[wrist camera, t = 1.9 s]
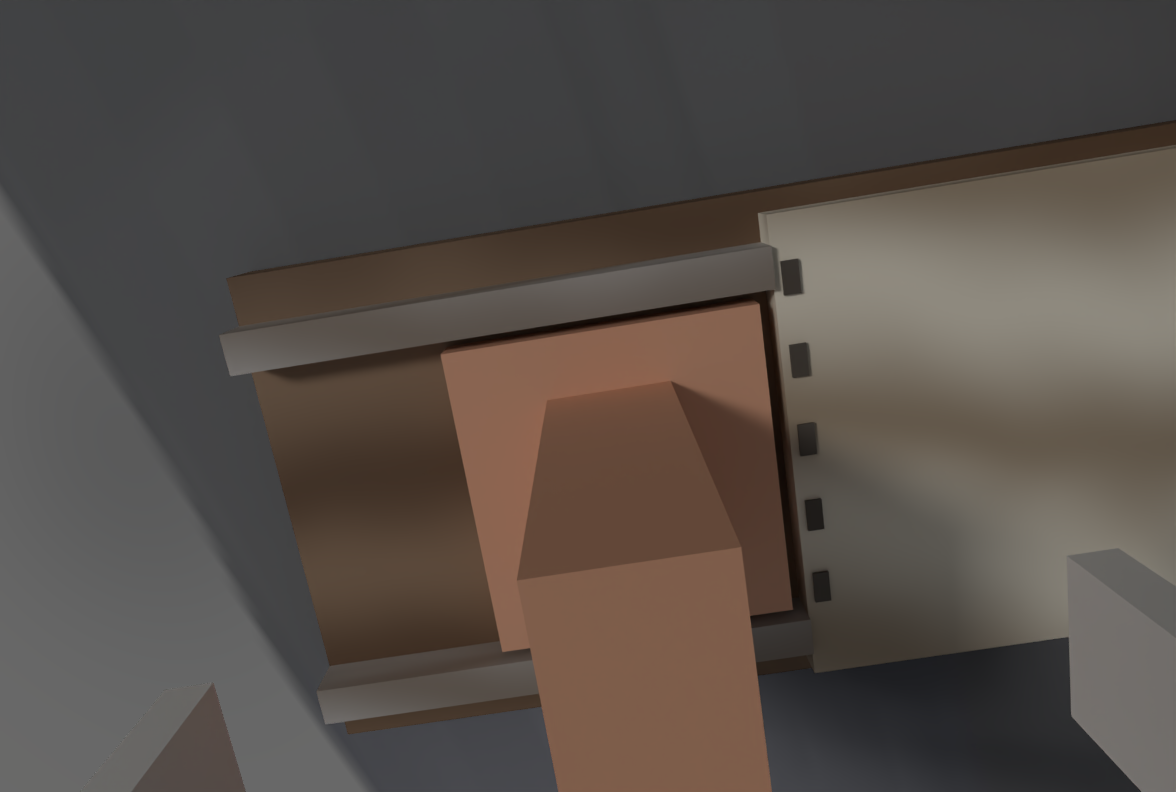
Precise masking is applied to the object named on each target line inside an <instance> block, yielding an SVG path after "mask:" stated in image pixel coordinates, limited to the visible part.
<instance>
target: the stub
mask: <svg viewBox="0 0 1176 792" xmlns="http://www.w3.org/2000/svg"><path fill="white" fill-rule="evenodd" d="M441 360H442V364H443V369H444V374H445V379H446V384H447V389H448V393H449V398H450V403H451V408H452V413H453V417H454V422H455V427H456V432H457V437H458V441H459V446H460V451H461V456H462V461H463V465H464V470H465V475H466V480H467V485H468V489H469V494H470V499H471V504H472V509H473V513H474V518H475V523H476V528H477V533H478V538H479V542H480V547H481V552H482V557H483V562H484V566H485V571H486V576H487V581H488V586H489V590H490V595H491V600H492V605H493V610H494V614H495V619H496V624H497V629H498V634H499V638H500V643H501V648H502V652H506V651H513V650H520V649H527V648H530V650H531V655H532V660H533V665H534V670H535V675H536V680H537V685H538V690H539V695H540V700H541V706H542V711H543V716H544V721H545V726H546V731H547V736H548V741H549V746H550V751H551V756H552V761H553V766H554V771H555V776H556V781H557V786H558V791H559V792H772V789H771V781H770V773H769V765H768V757H767V749H766V741H765V733H764V725H763V717H762V709H761V701H760V693H759V685H758V677H757V669H756V661H755V653H754V645H753V637H752V628H751V620H750V616H753V615H760V614H767V613H773V612H780V611H787V610H793V605H792V596H791V587H790V578H789V569H788V559H787V550H786V541H785V532H784V523H783V514H782V505H781V496H780V487H779V478H778V468H777V459H776V450H775V441H774V432H773V423H772V414H771V405H770V396H769V387H768V377H767V368H766V359H765V350H764V341H763V332H762V323H761V314H760V305H759V303H757V302H756V301H755V300H753V299H752V298H749V299H742V300H736V301H730V302H723V303H717V304H711V305H705V306H698V307H692V308H686V309H680V310H673V311H667V312H661V313H654V314H648V315H642V316H636V317H629V318H623V319H617V320H610V321H604V322H598V323H592V324H585V325H579V326H573V327H567V328H560V329H554V330H548V331H541V332H535V333H529V334H523V335H516V336H510V337H504V338H497V339H491V340H485V341H479V342H472V343H466V344H460V345H454V346H447V347H446V348H445V350H444V351H443V352H442V353H441Z"/></svg>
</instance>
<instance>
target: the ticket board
mask: <svg viewBox="0 0 1176 792" xmlns="http://www.w3.org/2000/svg"><path fill="white" fill-rule="evenodd" d="M226 279H227V282H228V286H229V290H230V294H231V297H232V301H233V305H234V309H235V312H236V316H237V320H238V324H239V327H237V328H234V329H232V330H230V331H227V332H225V333H223V334H220V335H219V337H220V341H221V344H222V348H223V352H224V355H225V359H226V363H227V366H228V370H229V373H230V376H235V375H241V374H247V373H252V376H253V380H254V384H255V387H256V391H257V395H258V399H259V402H260V406H261V410H262V414H263V417H264V421H265V425H266V429H267V432H268V436H269V440H270V444H271V447H272V451H273V455H274V459H275V462H276V466H277V470H278V474H279V477H280V481H281V485H282V489H283V492H284V496H285V500H286V504H287V507H288V511H289V515H290V519H291V522H292V526H293V530H294V534H295V537H296V541H297V545H298V549H299V552H300V556H301V560H302V564H303V567H304V571H305V575H306V579H307V582H308V586H309V590H310V594H311V597H312V601H313V605H314V609H315V612H316V616H317V620H318V624H319V627H320V631H321V635H322V639H323V642H324V646H325V650H326V654H327V657H328V661H329V665H330V667H329V669H328V670H327V672H326V674H325V676H324V678H323V680H322V682H321V684H320V686H319V688H318V690H317V695H318V699H319V703H320V706H321V710H322V714H323V717H324V721H325V724H332V723H339V722H345V725H346V729H347V732H348V734H354V733H361V732H368V731H375V730H382V729H389V728H396V727H402V726H409V725H416V724H423V723H430V722H437V721H444V720H451V719H458V718H465V717H472V716H479V715H486V714H493V713H500V712H507V711H514V710H521V709H528V708H535V707H542V706H541V700H540V695H539V690H538V685H537V680H536V675H535V670H534V665H533V660H532V655H531V650H530V648H527V649H520V650H513V651H506V652H502V648H501V643H500V638H499V634H498V629H497V624H496V619H495V614H494V610H493V605H492V600H491V595H490V590H489V586H488V581H487V576H486V571H485V566H484V562H483V557H482V552H481V547H480V542H479V538H478V533H477V528H476V523H475V518H474V513H473V509H472V504H471V499H470V494H469V489H468V485H467V480H466V475H465V470H464V465H463V461H462V456H461V451H460V446H459V441H458V437H457V432H456V427H455V422H454V417H453V413H452V408H451V403H450V398H449V393H448V389H447V384H446V379H445V374H444V369H443V364H442V360H441V353H442V352H443V351H444V350H445V348H446V347H447V346H454V345H460V344H466V343H472V342H479V341H485V340H491V339H497V338H504V337H510V336H516V335H523V334H529V333H535V332H541V331H548V330H554V329H560V328H567V327H573V326H579V325H585V324H592V323H598V322H604V321H610V320H617V319H623V318H629V317H636V316H642V315H648V314H654V313H661V312H667V311H673V310H680V309H686V308H692V307H698V306H705V305H711V304H717V303H723V302H730V301H736V300H742V299H749V298H752V299H753V300H755V301H756V302H757V303H759V305H760V314H761V323H762V332H763V341H764V350H765V359H766V368H767V377H768V387H769V396H770V405H771V414H772V423H773V432H774V441H775V450H776V459H777V468H778V478H779V487H780V496H781V505H782V514H783V523H784V532H785V541H786V550H787V559H788V569H789V578H790V587H791V596H792V605H793V610H787V611H780V612H773V613H767V614H760V615H753V616H750V620H751V628H752V637H753V645H754V653H755V661H756V669H757V676H758V675H765V674H772V673H779V672H786V671H793V670H800V669H807V668H812V669H813V671H814V673H820V672H827V671H834V670H841V669H848V668H855V667H862V666H869V665H876V664H883V663H890V662H897V661H904V660H911V659H918V658H925V657H932V656H939V655H946V654H952V653H959V652H966V651H973V650H980V649H987V648H994V647H1001V646H1008V645H1015V644H1022V643H1029V642H1036V641H1043V640H1050V639H1057V638H1064V637H1069V619H1068V583H1067V556H1068V555H1075V554H1082V553H1088V552H1095V551H1102V550H1109V549H1115V548H1119V549H1120V550H1122V551H1123V552H1125V553H1126V554H1128V555H1129V556H1131V557H1132V558H1134V559H1135V560H1137V561H1138V562H1140V563H1141V564H1143V565H1144V566H1146V567H1147V568H1149V569H1150V570H1152V571H1153V572H1155V573H1156V574H1158V575H1159V576H1161V577H1162V578H1164V579H1165V580H1167V581H1168V582H1170V583H1171V584H1173V585H1174V586H1176V120H1174V121H1168V122H1162V123H1155V124H1149V125H1143V126H1137V127H1131V128H1125V129H1119V130H1113V131H1107V132H1100V133H1094V134H1088V135H1082V136H1076V137H1070V138H1064V139H1058V140H1052V141H1046V142H1039V143H1033V144H1027V145H1021V146H1015V147H1009V148H1003V149H997V150H991V151H985V152H978V153H972V154H966V155H960V156H954V157H948V158H942V159H936V160H930V161H923V162H917V163H911V164H905V165H899V166H893V167H887V168H881V169H875V170H869V171H862V172H856V173H850V174H844V175H838V176H832V177H826V178H820V179H814V180H807V181H801V182H795V183H789V184H783V185H777V186H771V187H765V188H759V189H753V190H746V191H740V192H734V193H728V194H722V195H716V196H710V197H704V198H698V199H692V200H685V201H679V202H673V203H667V204H661V205H655V206H649V207H643V208H637V209H630V210H624V211H618V212H612V213H606V214H600V215H594V216H588V217H582V218H576V219H569V220H563V221H557V222H551V223H545V224H539V225H533V226H527V227H521V228H515V229H508V230H502V231H496V232H490V233H484V234H478V235H472V236H466V237H460V238H453V239H447V240H441V241H435V242H429V243H423V244H417V245H411V246H405V247H399V248H392V249H386V250H380V251H374V252H368V253H362V254H356V255H350V256H344V257H337V258H331V259H325V260H319V261H313V262H307V263H301V264H295V265H289V266H283V267H276V268H270V269H264V270H258V271H252V272H248V273H244V274H241V275H237V276H233V277H230V278H226Z"/></svg>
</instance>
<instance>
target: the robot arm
mask: <svg viewBox="0 0 1176 792" xmlns="http://www.w3.org/2000/svg"><path fill="white" fill-rule="evenodd" d="M1067 583H1068V619H1069V654H1070V690H1071V716H1072V717H1073V719H1074V720H1075V721H1076V722H1077V723H1078V724H1079V725H1080V726H1081V727H1082V728H1083V729H1084V730H1085V731H1086V732H1087V734H1088V735H1089V736H1090V737H1091V738H1092V739H1093V740H1094V741H1095V742H1096V743H1097V744H1098V745H1099V746H1100V748H1101V749H1102V750H1103V751H1104V752H1105V753H1106V754H1107V755H1108V756H1109V757H1110V758H1111V759H1112V760H1113V762H1114V763H1115V764H1116V765H1117V766H1118V767H1119V768H1120V769H1121V770H1122V771H1123V772H1124V773H1125V774H1126V776H1127V777H1128V778H1129V779H1130V780H1131V781H1132V782H1133V783H1134V784H1135V785H1136V786H1137V787H1138V788H1139V789H1140V791H1141V792H1176V586H1174V585H1173V584H1171V583H1170V582H1168V581H1167V580H1165V579H1164V578H1162V577H1161V576H1159V575H1158V574H1156V573H1155V572H1153V571H1152V570H1150V569H1149V568H1147V567H1146V566H1144V565H1143V564H1141V563H1140V562H1138V561H1137V560H1135V559H1134V558H1132V557H1131V556H1129V555H1128V554H1126V553H1125V552H1123V551H1122V550H1120V549H1119V548H1115V549H1109V550H1102V551H1095V552H1088V553H1082V554H1075V555H1068V556H1067ZM80 792H246V791H245V788H244V784H243V781H242V777H241V774H240V771H239V767H238V764H237V761H236V757H235V754H234V751H233V747H232V744H231V741H230V737H229V734H228V730H227V727H226V724H225V721H224V717H223V714H222V710H221V707H220V704H219V700H218V697H217V694H216V690H215V687H214V684H213V683H207V684H200V685H193V686H187V687H180V688H173V689H166V690H164V692H163V693H162V694H161V695H160V697H159V698H158V699H157V700H156V701H155V702H154V703H153V705H152V706H151V707H150V708H149V710H148V711H147V712H146V713H145V714H144V715H143V717H142V718H141V719H140V720H139V721H138V723H137V724H136V725H135V726H134V727H133V729H132V730H131V731H130V732H129V734H128V735H127V736H126V737H125V738H124V740H123V741H122V742H121V743H120V744H119V745H118V747H117V748H116V749H115V750H114V751H113V753H112V754H111V755H110V756H109V757H108V759H107V760H106V761H105V762H104V763H103V764H102V766H101V767H100V768H99V769H98V770H97V772H96V773H95V774H94V775H93V776H92V778H91V779H90V780H89V781H88V782H87V784H86V785H85V786H84V787H83V788H82V790H81V791H80Z"/></svg>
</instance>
